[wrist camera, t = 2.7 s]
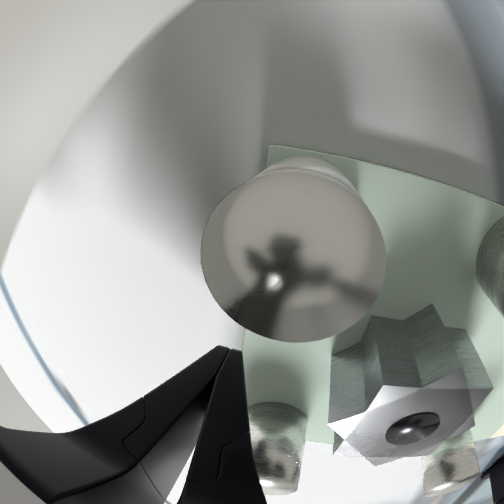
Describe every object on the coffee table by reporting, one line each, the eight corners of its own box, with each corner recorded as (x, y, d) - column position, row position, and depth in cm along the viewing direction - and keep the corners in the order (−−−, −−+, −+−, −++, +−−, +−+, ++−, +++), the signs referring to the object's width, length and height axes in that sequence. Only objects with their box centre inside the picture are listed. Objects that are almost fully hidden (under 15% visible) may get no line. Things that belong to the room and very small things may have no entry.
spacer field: (605, 263, 4) (641, 297, 1) (494, 436, 10) (504, 477, 7) (257, 144, 7) (206, 152, 4) (227, 423, 13) (205, 480, 9)
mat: (616, 270, 4) (622, 276, 4) (524, 422, 10) (526, 429, 9) (272, 144, 8) (268, 145, 7) (236, 414, 13) (232, 425, 13)
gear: (489, 312, 7) (524, 368, 5) (425, 410, 10) (434, 464, 7) (354, 288, 8) (364, 359, 5) (311, 400, 11) (303, 462, 8)
